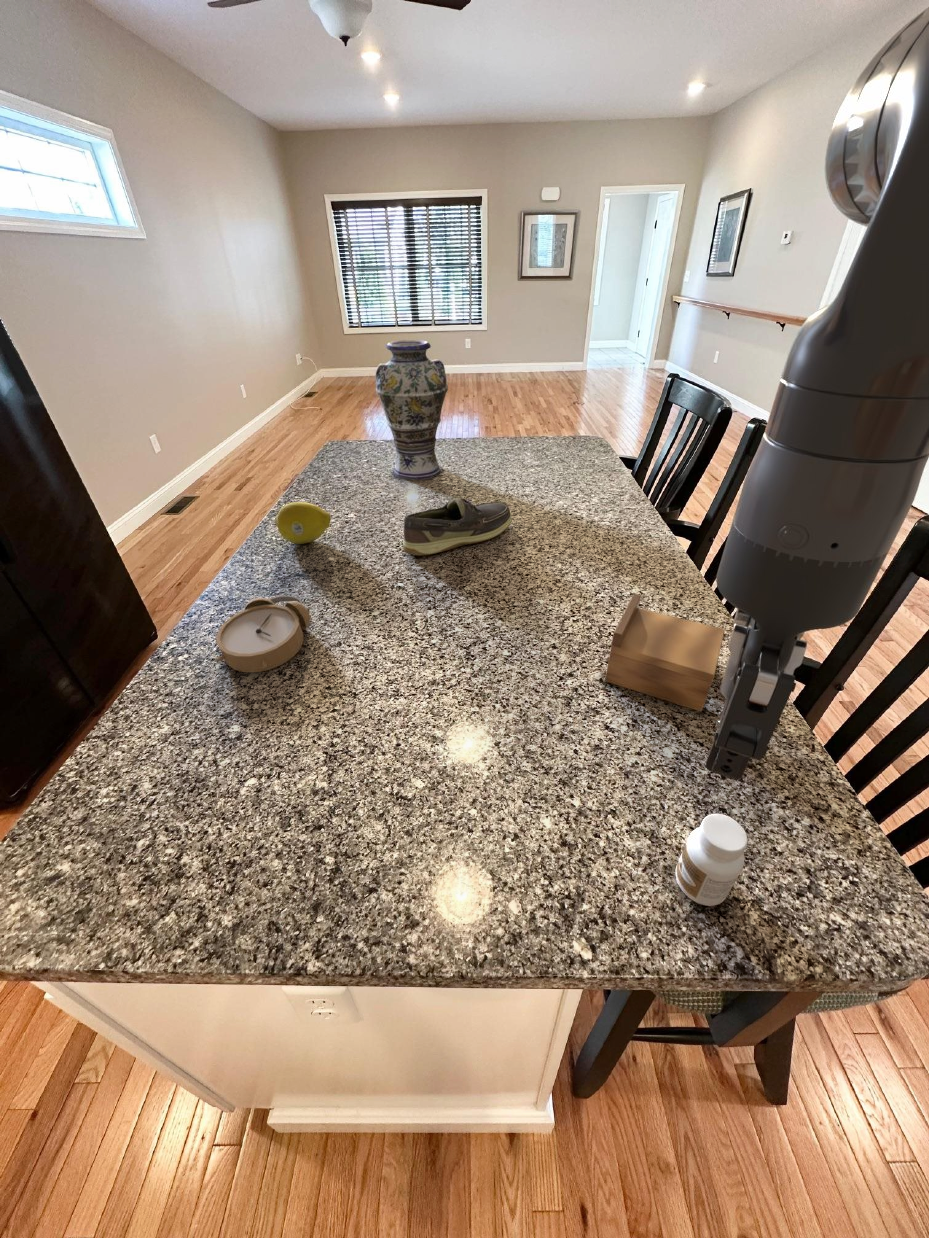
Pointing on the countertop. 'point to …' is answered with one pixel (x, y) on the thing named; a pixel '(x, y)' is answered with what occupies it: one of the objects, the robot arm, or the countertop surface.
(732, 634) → the robot arm
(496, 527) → the boat shoe
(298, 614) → the alarm clock
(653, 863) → the countertop surface
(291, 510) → the lemon
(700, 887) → the pill bottle
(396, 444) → the vase
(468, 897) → the countertop surface
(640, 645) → the shelf
